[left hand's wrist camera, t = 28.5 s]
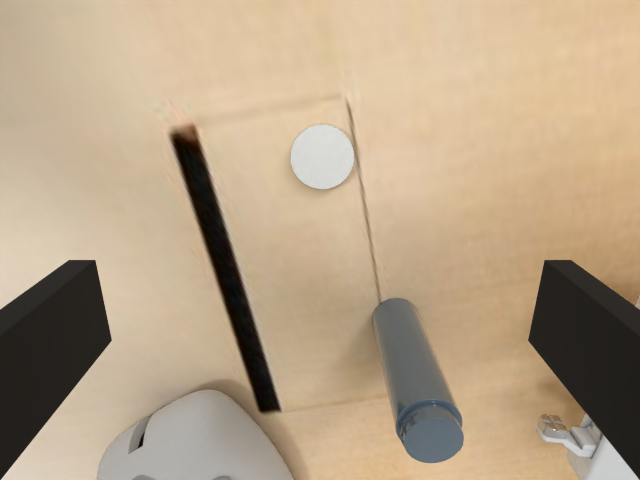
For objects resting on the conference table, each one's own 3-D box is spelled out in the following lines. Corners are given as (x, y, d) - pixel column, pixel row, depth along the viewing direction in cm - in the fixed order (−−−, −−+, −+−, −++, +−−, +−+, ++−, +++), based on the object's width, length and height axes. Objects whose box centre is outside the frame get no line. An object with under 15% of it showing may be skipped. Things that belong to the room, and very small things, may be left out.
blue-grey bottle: (365, 330, 44) (388, 457, 29) (382, 292, 43) (416, 405, 28) (406, 343, 45) (450, 474, 30) (425, 306, 43) (481, 424, 28)
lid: (363, 139, 37) (365, 142, 36) (336, 194, 39) (337, 199, 38) (306, 112, 36) (306, 114, 35) (282, 170, 38) (280, 173, 37)
